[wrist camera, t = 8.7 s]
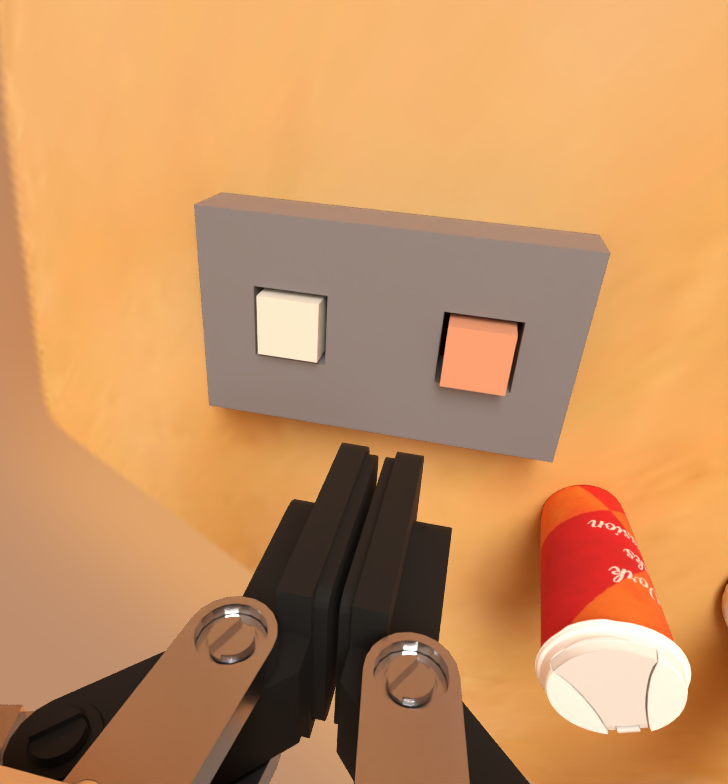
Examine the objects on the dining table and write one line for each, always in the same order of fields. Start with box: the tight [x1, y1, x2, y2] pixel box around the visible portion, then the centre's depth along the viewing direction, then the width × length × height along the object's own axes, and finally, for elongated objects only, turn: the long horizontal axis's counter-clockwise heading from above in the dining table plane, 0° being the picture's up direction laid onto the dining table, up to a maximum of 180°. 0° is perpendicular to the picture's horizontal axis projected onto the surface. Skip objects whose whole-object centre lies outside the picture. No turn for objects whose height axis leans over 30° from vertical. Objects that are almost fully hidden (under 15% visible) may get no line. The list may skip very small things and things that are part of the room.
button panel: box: [194, 193, 610, 462], centre depth 39 cm, size 14×24×4 cm, turn 86°
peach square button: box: [440, 313, 518, 396], centre depth 37 cm, size 4×4×4 cm
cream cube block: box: [256, 288, 328, 363], centre depth 39 cm, size 4×4×4 cm
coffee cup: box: [535, 485, 691, 734], centre depth 39 cm, size 8×8×15 cm
